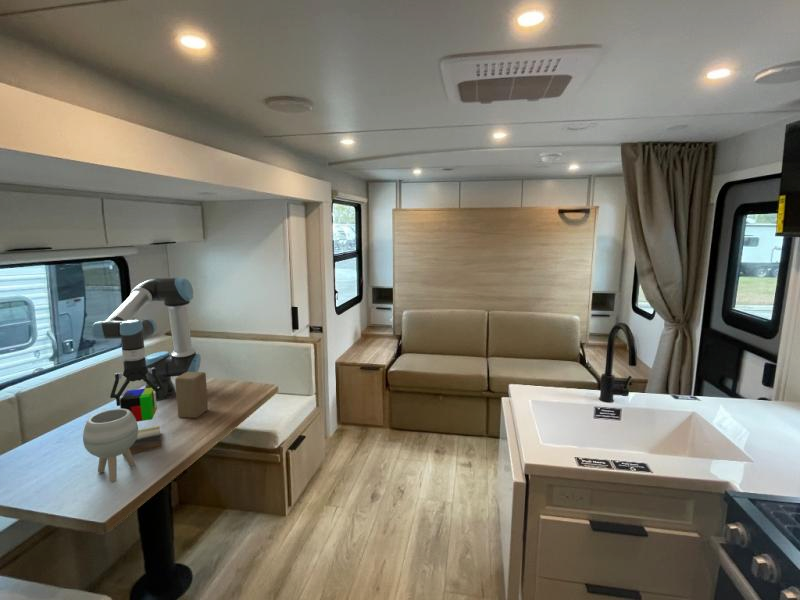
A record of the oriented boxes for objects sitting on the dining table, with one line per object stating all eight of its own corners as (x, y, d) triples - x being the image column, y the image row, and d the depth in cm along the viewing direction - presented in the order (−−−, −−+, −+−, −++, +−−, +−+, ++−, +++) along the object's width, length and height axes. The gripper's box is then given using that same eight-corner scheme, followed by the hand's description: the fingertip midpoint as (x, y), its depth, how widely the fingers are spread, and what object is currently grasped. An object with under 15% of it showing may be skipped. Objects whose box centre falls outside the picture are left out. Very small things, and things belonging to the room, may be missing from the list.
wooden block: (209, 409, 198) (206, 371, 195) (197, 419, 189) (194, 379, 185) (190, 408, 199) (187, 370, 196) (177, 417, 190) (174, 377, 186)
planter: (85, 472, 146) (77, 415, 142) (136, 455, 157) (131, 402, 154) (91, 492, 135) (84, 431, 131) (146, 473, 146) (141, 416, 142)
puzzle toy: (129, 412, 168) (126, 390, 166) (156, 409, 171) (154, 387, 170) (123, 423, 159) (120, 400, 157) (151, 419, 162) (149, 396, 160)
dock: (124, 439, 169) (123, 427, 168) (160, 432, 176) (158, 420, 175) (123, 456, 157) (121, 443, 156) (161, 447, 164) (160, 435, 163)
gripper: (97, 365, 151) (103, 419, 155) (168, 356, 164) (172, 406, 167) (99, 360, 157) (105, 412, 161) (167, 351, 170) (171, 400, 173)
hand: (139, 409), depth 164 cm, fingers closed on puzzle toy, 11 cm apart
